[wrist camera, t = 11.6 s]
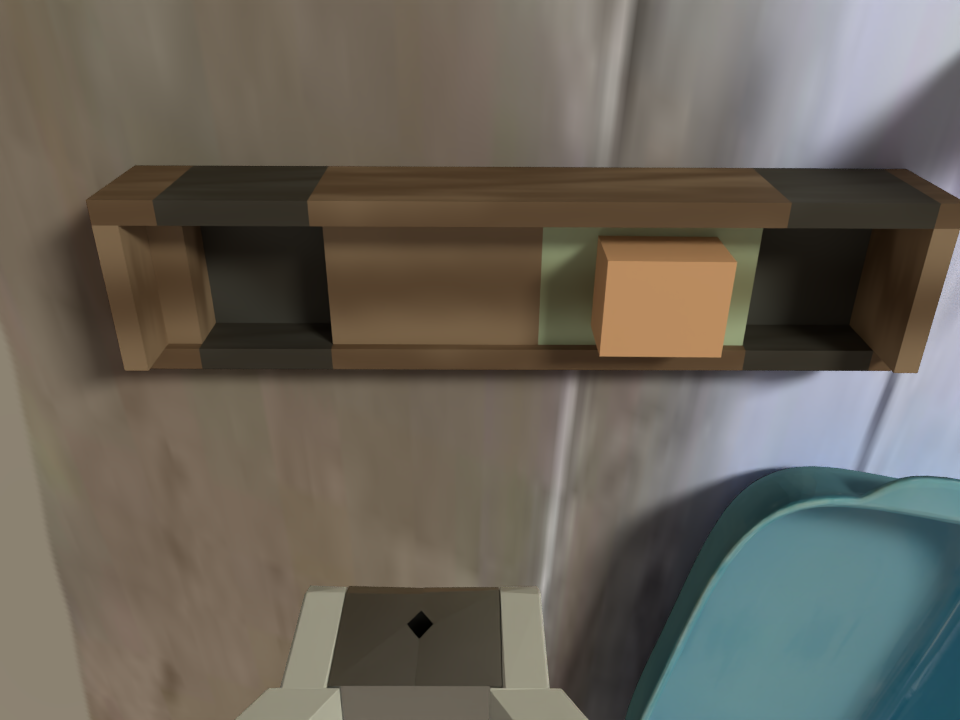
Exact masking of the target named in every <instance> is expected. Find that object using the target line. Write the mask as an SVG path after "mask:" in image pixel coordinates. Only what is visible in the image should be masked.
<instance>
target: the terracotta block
mask: <svg viewBox="0 0 960 720" xmlns="http://www.w3.org/2000/svg"><path fill="white" fill-rule="evenodd" d="M736 267H737V261H736V260H735V259H734V257H733V256H732V255H731V254H730V252H729V251H728V250H727V248H726V247H725V246H724V245H723V243H722V242H721V241H720V239H719V238H718V237H677V236H598V245H597V257H596V269H595V281H594V293H593V305H592V316H591V328H592V332H593V335H594V339H595V342H596V346H597V349H598V353H599V356H611V357H720V358H721V354H722V349H723V343H724V337H725V331H726V325H727V319H728V314H729V308H730V302H731V296H732V290H733V284H734V279H735V273H736Z"/></svg>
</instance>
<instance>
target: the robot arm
mask: <svg viewBox="0 0 960 720" xmlns="http://www.w3.org/2000/svg"><path fill="white" fill-rule="evenodd" d="M235 720H588V719H587V718H586V716H585V715H584V714H583V713H582V712H581V711H580V709H579V708H578V707H577V706H576V705H575V704H574V703H573V701H572V700H571V699H570V698H569V697H568V696H567V695H566V693H565V692H564V691H563V690H562V689H555V688H549V677H548V667H547V656H546V646H545V635H544V625H543V615H542V604H541V594H540V590H539V589H538V587H537V586H521V587H500V590H499V587H436V588H405V587H367V586H349V587H332V586H310V587H309V589H308V590H307V592H306V593H305V595H304V599H303V602H302V606H301V610H300V614H299V618H298V622H297V625H296V629H295V633H294V637H293V641H292V644H291V648H290V652H289V656H288V660H287V664H286V667H285V671H284V675H283V679H282V683H281V686H280V688H268V689H267V690H266V691H265V692H264V693H263V694H262V695H260V696H259V697H258V698H257V699H256V700H255V701H254V702H253V703H252V704H251V705H250V706H249V707H248V708H247V709H245V710H244V711H243V712H242V713H241V714H240V715H239V716H238V717H237V718H236V719H235Z"/></svg>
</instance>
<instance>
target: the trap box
mask: <svg viewBox="0 0 960 720" xmlns="http://www.w3.org/2000/svg"><path fill="white" fill-rule="evenodd" d="M86 203H87V208H88V212H89V216H90V221H91V225H92V229H93V234H94V238H95V243H96V247H97V251H98V256H99V260H100V264H101V269H102V273H103V278H104V282H105V286H106V291H107V295H108V299H109V304H110V308H111V313H112V317H113V321H114V326H115V330H116V334H117V339H118V343H119V348H120V352H121V356H122V361H123V365H124V369H125V370H126V371H149V369H468V370H795V371H891V370H892V371H893V373H918V369H919V366H920V363H921V359H922V356H923V352H924V349H925V346H926V342H927V339H928V336H929V332H930V329H931V325H932V322H933V319H934V315H935V312H936V308H937V305H938V302H939V298H940V295H941V292H942V288H943V285H944V281H945V278H946V275H947V271H948V268H949V264H950V261H951V258H952V254H953V251H954V248H955V244H956V241H957V237H958V234H959V231H960V199H958V198H957V197H955V196H953V195H951V194H949V193H948V192H946V191H944V190H942V189H941V188H939V187H937V186H935V185H934V184H932V183H930V182H928V181H927V180H925V179H923V178H921V177H920V176H918V175H916V174H914V173H912V172H911V171H909V170H907V169H818V168H590V167H362V166H134V167H132V168H131V169H129V170H128V171H126V172H125V173H124V174H122V175H121V176H119V177H118V178H116V179H115V180H114V181H112V182H111V183H109V184H108V185H106V186H105V187H104V188H102V189H101V190H99V191H98V192H97V193H95V194H94V195H92V196H91V197H89V198H88V199H87V200H86ZM598 236H677V237H718V238H719V239H720V241H721V242H722V243H723V245H724V246H725V247H726V248H727V250H728V251H729V252H730V254H731V255H732V256H733V257H734V259H735V260H736V261H737V267H736V273H735V279H734V284H733V290H732V296H731V302H730V308H729V314H728V319H727V325H726V331H725V337H724V343H723V349H722V354H721V358H720V357H611V356H599V353H598V349H597V346H596V342H595V339H594V335H593V332H592V328H591V316H592V305H593V293H594V281H595V269H596V257H597V245H598Z"/></svg>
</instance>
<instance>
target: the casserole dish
mask: <svg viewBox="0 0 960 720" xmlns="http://www.w3.org/2000/svg"><path fill="white" fill-rule="evenodd" d="M625 720H960V480H959V479H953V478H947V477H935V476H910V477H904V478H899V479H898V478H893V477H887V476H882V475H876V474H871V473H865V472H860V471H854V470H847V469H840V468H831V467H816V466H809V467H794V468H788V469H784V470H781V471H777V472H774V473H772V474H769V475H767V476H765V477H763V478H761V479H759V480H757V481H755V482H754V483H752V484H751V485H750V486H748V487H747V488H746V489H745V490H743V491H742V492H741V493H740V494H739V495H738V496H737V497H736V498H735V499H734V500H733V501H732V502H731V504H730V505H729V506H728V507H727V508H726V509H725V511H724V512H723V514H722V515H721V517H720V518H719V520H718V521H717V523H716V524H715V526H714V527H713V529H712V531H711V532H710V534H709V536H708V538H707V540H706V541H705V543H704V545H703V547H702V549H701V551H700V553H699V555H698V557H697V558H696V560H695V562H694V564H693V567H692V569H691V571H690V573H689V575H688V577H687V579H686V581H685V583H684V586H683V588H682V590H681V592H680V594H679V596H678V598H677V601H676V603H675V605H674V607H673V609H672V611H671V614H670V616H669V618H668V620H667V622H666V624H665V626H664V628H663V630H662V632H661V635H660V637H659V639H658V641H657V643H656V645H655V647H654V649H653V651H652V653H651V655H650V657H649V659H648V662H647V664H646V666H645V668H644V670H643V672H642V675H641V677H640V679H639V682H638V684H637V686H636V689H635V691H634V694H633V696H632V699H631V702H630V705H629V707H628V711H627V715H626V718H625Z"/></svg>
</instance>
